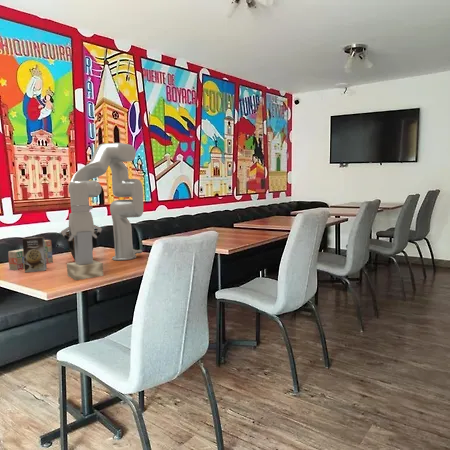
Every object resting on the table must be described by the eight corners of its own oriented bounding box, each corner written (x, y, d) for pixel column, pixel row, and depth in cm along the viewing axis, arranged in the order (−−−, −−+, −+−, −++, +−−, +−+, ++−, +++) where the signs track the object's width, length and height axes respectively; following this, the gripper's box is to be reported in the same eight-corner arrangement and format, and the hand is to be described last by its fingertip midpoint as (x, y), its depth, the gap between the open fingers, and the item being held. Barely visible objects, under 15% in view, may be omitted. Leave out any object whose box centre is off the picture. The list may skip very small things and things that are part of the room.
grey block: (89, 261, 189) (87, 230, 188) (93, 263, 183) (91, 231, 182) (75, 262, 186) (74, 231, 185) (78, 264, 180) (77, 232, 179)
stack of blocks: (17, 270, 204) (15, 245, 203) (9, 269, 207) (7, 245, 205) (53, 262, 223) (51, 239, 222) (45, 261, 226) (43, 239, 224)
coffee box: (24, 272, 198) (21, 239, 196) (27, 270, 204) (24, 237, 202) (45, 270, 200) (42, 237, 198) (47, 268, 206) (44, 236, 205)
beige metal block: (94, 272, 193) (93, 259, 193) (103, 276, 184) (102, 263, 183) (67, 276, 186) (66, 263, 186) (75, 281, 177) (74, 267, 176)
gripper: (97, 208, 190) (100, 245, 191) (57, 210, 181) (60, 249, 182) (102, 208, 183) (105, 247, 185) (61, 211, 174) (64, 251, 176)
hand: (83, 248), depth 184 cm, fingers open, 9 cm apart
